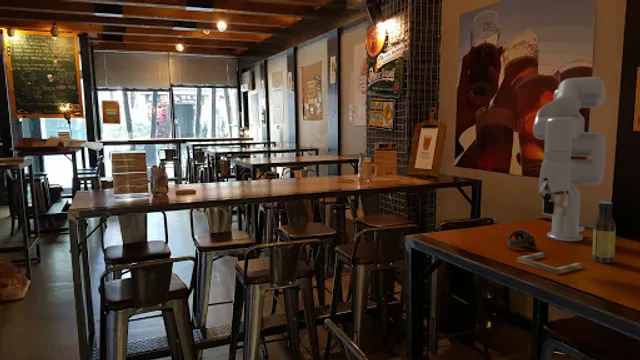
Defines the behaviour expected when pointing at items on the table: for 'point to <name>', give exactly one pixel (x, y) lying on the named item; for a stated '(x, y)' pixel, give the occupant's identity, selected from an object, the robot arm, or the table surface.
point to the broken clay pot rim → (521, 239)
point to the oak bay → (559, 270)
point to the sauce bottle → (604, 234)
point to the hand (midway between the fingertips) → (554, 212)
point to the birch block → (558, 205)
